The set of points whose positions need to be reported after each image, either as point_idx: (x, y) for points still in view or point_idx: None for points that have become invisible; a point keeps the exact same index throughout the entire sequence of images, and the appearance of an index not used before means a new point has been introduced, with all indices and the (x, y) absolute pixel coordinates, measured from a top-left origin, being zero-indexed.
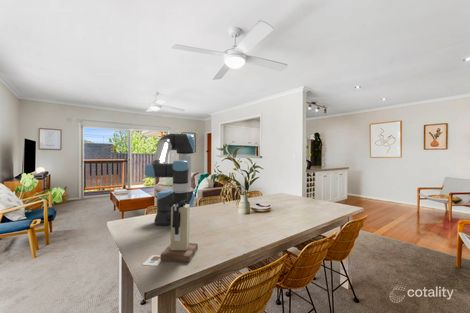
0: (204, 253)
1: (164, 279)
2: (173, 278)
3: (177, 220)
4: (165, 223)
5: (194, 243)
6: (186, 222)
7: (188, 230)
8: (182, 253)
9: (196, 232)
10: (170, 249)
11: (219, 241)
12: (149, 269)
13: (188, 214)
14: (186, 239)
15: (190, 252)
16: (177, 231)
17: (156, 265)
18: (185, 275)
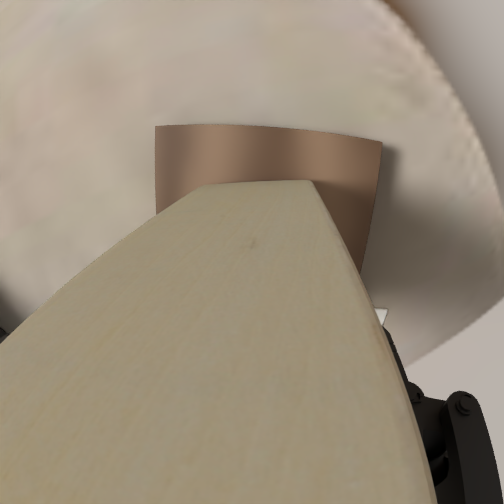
0: (233, 63)
1: (488, 239)
2: (490, 202)
3: (500, 487)
4: None
5: (157, 151)
6: (390, 348)
7: (196, 223)
8: (340, 202)
9: (5, 211)
10: None
11: (70, 38)
12: (408, 326)
13: (42, 493)
14: (322, 201)
15: (322, 143)
16: (398, 355)
17: (386, 312)
18: (477, 149)
